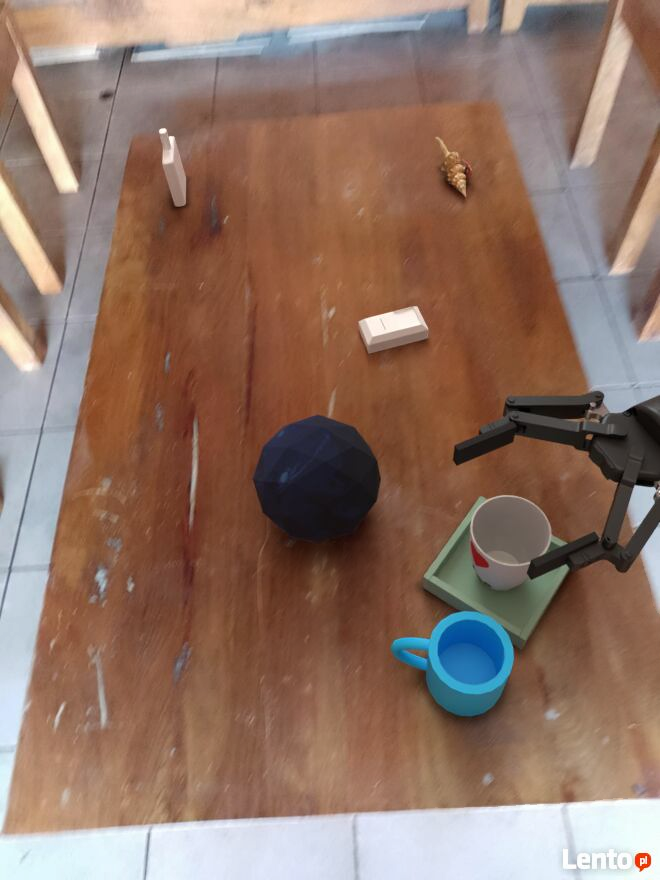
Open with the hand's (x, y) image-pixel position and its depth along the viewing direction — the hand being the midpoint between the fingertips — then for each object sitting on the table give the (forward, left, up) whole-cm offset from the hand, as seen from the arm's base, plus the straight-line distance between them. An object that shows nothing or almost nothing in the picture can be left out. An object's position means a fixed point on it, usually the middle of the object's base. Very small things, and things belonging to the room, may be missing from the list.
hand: (490, 509), depth 67 cm
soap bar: (+29, -27, -18) cm, 44 cm away
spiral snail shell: (+41, -64, -18) cm, 78 cm away
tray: (-2, -3, -18) cm, 18 cm away
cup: (-1, -3, -17) cm, 17 cm away
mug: (-3, +10, -18) cm, 21 cm away
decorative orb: (+20, +2, -18) cm, 27 cm away
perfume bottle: (+80, -35, -18) cm, 90 cm away
